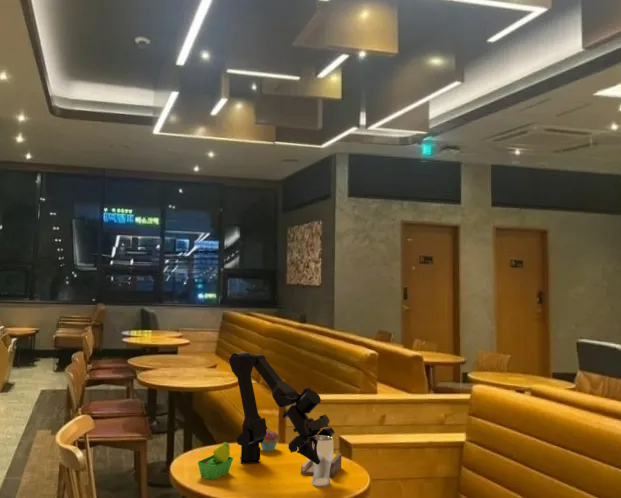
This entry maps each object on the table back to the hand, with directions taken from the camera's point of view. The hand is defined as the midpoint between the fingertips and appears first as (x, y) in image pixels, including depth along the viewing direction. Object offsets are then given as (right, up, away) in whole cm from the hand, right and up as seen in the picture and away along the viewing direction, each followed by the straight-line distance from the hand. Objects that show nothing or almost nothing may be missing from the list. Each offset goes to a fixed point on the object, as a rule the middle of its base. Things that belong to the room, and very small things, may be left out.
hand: (325, 461), depth 207 cm
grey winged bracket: (-1, -8, +14) cm, 16 cm away
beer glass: (-1, -8, +1) cm, 8 cm away
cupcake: (-21, -8, +37) cm, 43 cm away
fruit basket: (-36, -6, +5) cm, 37 cm away
